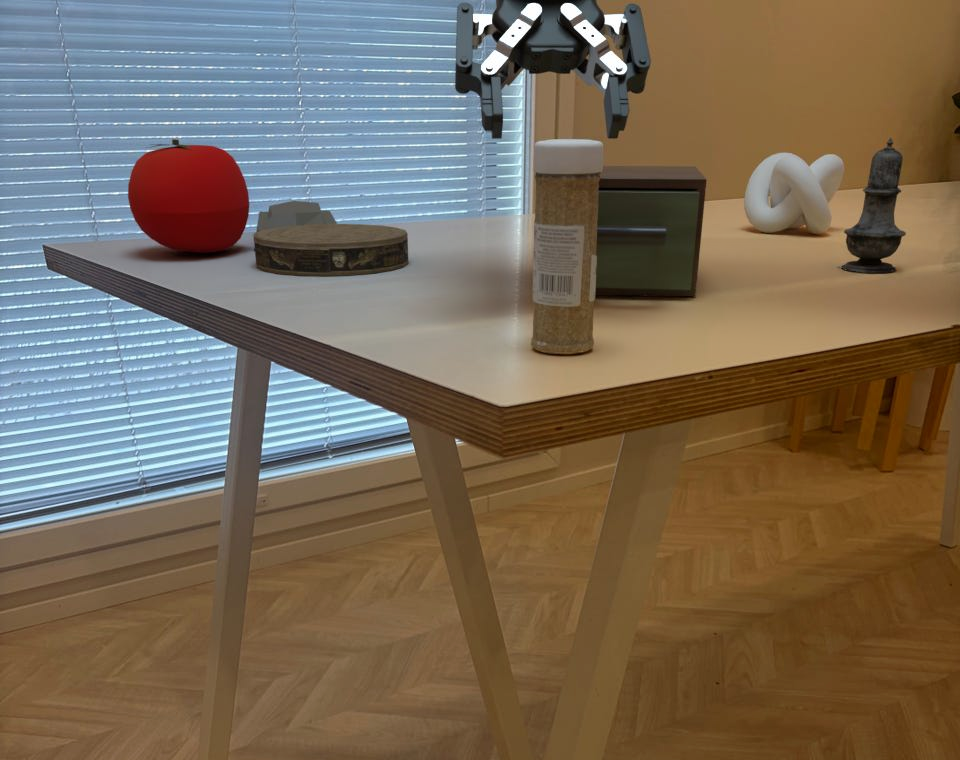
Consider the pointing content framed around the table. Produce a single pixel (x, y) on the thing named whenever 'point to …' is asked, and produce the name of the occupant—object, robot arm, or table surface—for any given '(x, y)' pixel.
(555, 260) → the sprinkles bottle
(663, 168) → the cabinet
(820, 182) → the white knot sculpture
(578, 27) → the robot arm
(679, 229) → the drawer
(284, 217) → the soap mold
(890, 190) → the salt shaker
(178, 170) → the tomato
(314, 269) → the tin can
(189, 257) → the table surface
